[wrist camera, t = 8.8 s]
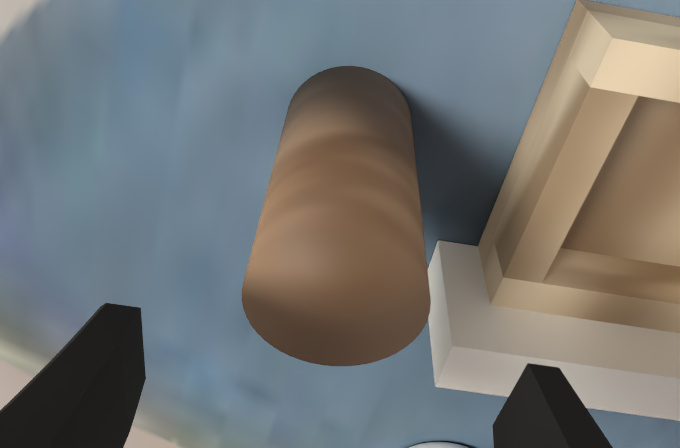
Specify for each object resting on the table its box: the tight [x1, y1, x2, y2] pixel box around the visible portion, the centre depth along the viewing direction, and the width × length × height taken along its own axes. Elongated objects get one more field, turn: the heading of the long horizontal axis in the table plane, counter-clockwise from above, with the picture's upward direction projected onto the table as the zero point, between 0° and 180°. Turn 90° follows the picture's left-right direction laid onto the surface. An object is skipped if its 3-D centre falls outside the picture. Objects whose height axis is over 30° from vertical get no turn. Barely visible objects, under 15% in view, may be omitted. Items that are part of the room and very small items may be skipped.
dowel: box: [242, 66, 431, 366], centre depth 16 cm, size 4×4×8 cm
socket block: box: [478, 0, 680, 333], centre depth 18 cm, size 9×9×3 cm
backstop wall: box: [427, 240, 680, 421], centre depth 20 cm, size 12×2×5 cm, turn 81°
